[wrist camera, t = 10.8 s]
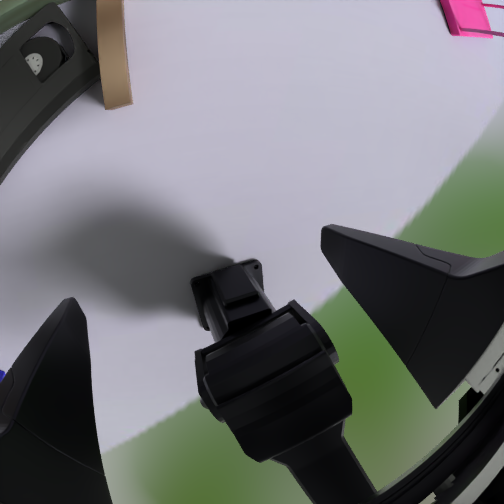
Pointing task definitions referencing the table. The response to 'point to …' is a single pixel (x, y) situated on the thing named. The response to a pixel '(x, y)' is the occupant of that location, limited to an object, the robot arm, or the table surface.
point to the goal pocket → (109, 43)
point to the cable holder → (2, 375)
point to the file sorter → (468, 18)
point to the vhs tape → (38, 83)
